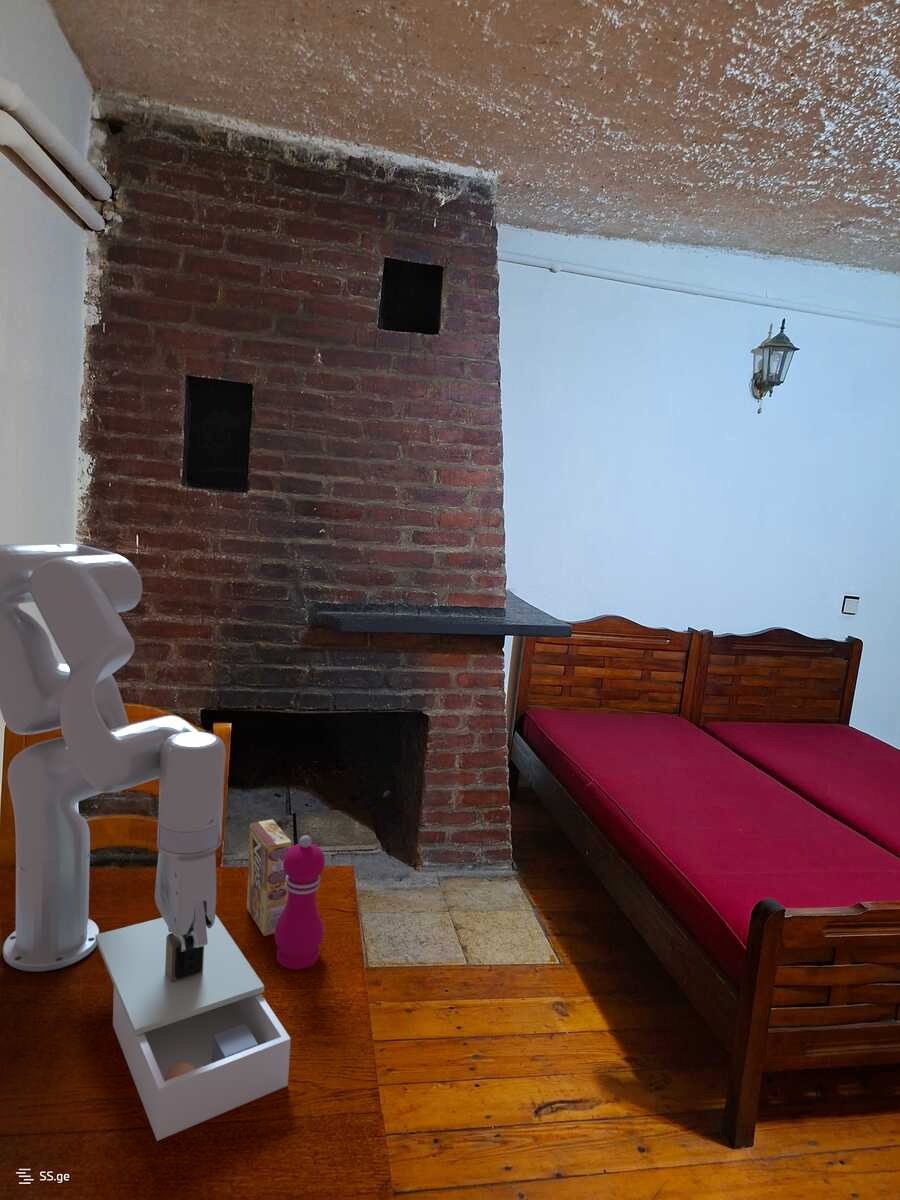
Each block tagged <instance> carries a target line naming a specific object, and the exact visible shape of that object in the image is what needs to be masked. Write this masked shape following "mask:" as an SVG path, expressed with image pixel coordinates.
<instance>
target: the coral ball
mask: <svg viewBox="0 0 900 1200" xmlns="http://www.w3.org/2000/svg"><path fill="white" fill-rule="evenodd" d="M193 1070H196V1068H195V1066H194V1065H193V1064H191V1063H190V1062H186V1061H182V1062H178V1063H176V1064H174V1065H173V1066H172V1067H171V1068H170V1069H169V1070H168V1072H167V1074H166V1077H165V1081H167V1080H169V1079H172V1078H175V1077H177V1076H180V1075H182V1074H185V1073H188V1072H190V1071H193Z"/></svg>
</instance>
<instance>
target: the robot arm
mask: <svg viewBox="0 0 900 1200" xmlns="http://www.w3.org/2000/svg"><path fill="white" fill-rule="evenodd" d="M142 593H143V583H142V579H141V576H140V574H139V572H138V569H137V568H136V566H135V565H134V564H133V563H132V562H131V561H130V560H129V559H127V558H126V557H124V556H122V555H121V554H118V553H115V552H111V551H108V550H103V549H98V548H94V547H92V546H88V545H83V544H79V543H18V544H17V543H15V544H14V543H13V544H12V543H11V544H0V713H1V717H2V719H3V721H4V723H5V725H6V727H7V728H8V729H9V730H10V731H11V733H14V734H17V735H21V736H22V735H23V736H24V735H25V736H27V735H36V734H41V733H44V732H45V733H46V732H51V731H55V730H58V729H61V734H62V736H60V737H55V738H51V739H48V740H44V741H40V742H37V743H34V744H32V745H30V746H28V747H25V748H24V749H22V750H21V751H19V753H17V754H16V755H15V756H13V758H12V760H11V761H10V764H9V766H8V769H7V782H8V783H7V784H8V788H9V792H10V797H11V798H10V799H11V802H12V803H11V804H12V809H13V814H14V825H15V930H14V931H13V932H11V933H10V935H9V936H8V937H7V938H6V940H5V941H4V943H3V946H2V956H3V959H4V961H5V962H6V964H8V965H9V966H10V967H12V968H14V969H17V970H20V971H24V972H47V971H53V970H57V969H61V968H62V969H63V968H65V967H68V966H70V965H73V964H75V963H76V962H79V961H80V960H83V959H84V958H85V957H87V956H89V955H90V953H91V952H93V951H94V950H95V948H97V946H98V945H97V943H96V940H95V935H96V934H100V929H99V925H97V924H96V922H94V920H92V919H90V918H89V911H90V910H89V906H90V905H89V902H90V896H89V895H90V862H91V861H90V859H91V858H90V854H91V853H90V850H91V832H90V827H89V824H88V822H87V821H86V819H85V817H84V816H82V815H81V814H80V813H79V812H78V811H77V810H76V807H75V806H76V804H77V803H78V802H80V801H83V800H86V799H88V798H91V797H94V796H97V795H100V794H103V793H117V792H121V791H124V790H128V789H130V788H134V787H136V786H139V785H142V784H145V783H148V782H150V781H155V780H157V779H159V789H158V790H159V791H158V793H159V794H158V815H157V817H158V819H157V821H158V822H157V840H156V841H157V845H156V846H157V849H158V857H157V864H156V876H155V887H154V888H155V889H154V902H155V905H156V907H157V909H158V911H159V913H160V915H161V918H163V919H164V921H165V922H166V924H167V926H168V930H169V933H171V932H172V933H171V934H168V935H172V934H174V935H175V936H177V937H179V948H176V958H175V977H176V978H177V979H181V978H184V977H187V976H191V975H194V974H197V973H200V972H201V970H202V952H203V946H205V945H207V944H208V940H207V930H206V926H207V927H208V928H211V927H212V926H213V924H214V921H215V914H216V908H217V862H216V858H217V857H216V850H217V849H218V848H220V846H221V845H222V829H223V826H222V825H223V810H224V809H223V808H224V791H225V790H224V787H225V785H224V784H225V770H226V769H225V767H226V766H225V765H226V746H225V742H224V741H223V740H222V739H221V737H220V736H217V735H216V734H213V733H210V732H205V731H201V730H199V729H197V728H196V727H195V726H194V725H193V724H191V723H190V722H189V721H188V720H186V719H184V718H182V717H180V716H177V715H173V714H172V715H169V714H168V715H162V716H158V717H154V718H150V719H147V720H141V721H138V722H134V723H130V722H129V718H128V716H127V712H126V709H125V705H124V702H123V699H122V695H121V692H120V690H119V687H118V683H117V680H115V678H114V675H113V674H114V673H115V672H117V671H118V670H119V669H120V668H122V667H123V666H124V665H125V664H127V662H128V661H129V660H130V659H131V657H132V656H133V654H134V652H135V647H136V646H135V641H134V639H133V638H132V636H131V634H130V632H129V630H128V629H127V627H126V625H125V623H124V622H123V620H122V618H121V616H120V614H119V613H123V612H124V613H125V612H128V611H130V610H133V609H134V608H135V607H136V606H137V605H138V604H139V602H140V601H141V598H142ZM26 603H27V604H28V603H34V604H35V606H36V608H37V609H38V611H39V613H40V615H41V618H42V620H43V621H44V623H45V625H46V628H47V629H48V630H49V631H48V632H50V635H51V637H52V639H53V641H54V643H55V645H57V648H58V650H59V653H60V654H61V655H62V656H61V657H62V658H63V660H64V662H60V661H58V660H57V658H56V656H55V654H54V651H53V647H52V643H51V640H50V637H49V634H48V633H47V632H46V630H45V629H44V627H43V626H42V625H41V624H40V623H39V622H38V621H37V620H36V619H35V618H33V616H31V615H30V614H29V613H28V612H26V611H24V610H23V609H21V608H20V607H19V606H20V604H26ZM192 931H194V935H192V936H188V937H187V938H186V934H187V933H188V932H192Z"/></svg>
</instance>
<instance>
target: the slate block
mask: <svg viewBox="0 0 900 1200" xmlns="http://www.w3.org/2000/svg"><path fill="white" fill-rule="evenodd" d="M256 1046H258V1043H257V1042H256V1040H255V1038H254V1037H253V1035H252V1033H251V1032H250V1030H249V1028H248V1027H247V1025H246V1024H242V1025H239V1026H237V1027H234V1028H231V1029H228V1030H225V1031H223V1032H220V1033H217V1034H214V1035H213V1053H212V1063H214V1062H217V1061H219V1060H222V1059H224V1058H227V1057H230V1056H232V1055H235V1054H238V1053H240V1052H243V1051H245V1050H248V1049H251V1048H253V1047H256Z"/></svg>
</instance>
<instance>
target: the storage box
mask: <svg viewBox="0 0 900 1200" xmlns="http://www.w3.org/2000/svg"><path fill="white" fill-rule="evenodd" d="M112 1002H113V1003H112V1005H113V1007H112V1008H113V1009H112V1012H113V1013H112V1014H113V1015H112V1027H113V1029H114V1032H115V1035H116V1037H117V1041H118V1043H119V1045H120V1048H121V1051H122V1053H123V1055H124V1058H125V1061H126V1063H127V1067H128V1068H129V1071H130V1074H131V1077H132V1079H133V1083H134V1084H135V1088H136V1089H137V1093H138V1095H139V1098H140V1101H141V1102H142V1105H143V1108H144V1111H145V1114H146V1116H147V1119H148V1121H149V1124H150V1127H151V1129H152V1132H153V1134H154V1137H155V1139H156V1142H158V1141H160V1140H163V1139H166V1138H167V1137H171V1136H172V1135H176V1134H178V1133H180V1132H181V1131H185V1130H187V1129H189V1128H192V1127H193V1126H196V1125H199V1124H201V1123H203V1122H205V1121H208V1120H211V1119H213V1118H214V1117H217V1116H219V1115H221V1114H224V1113H227V1112H229V1111H231V1110H234V1109H236V1108H239V1107H241V1106H243V1105H246V1104H248V1103H250V1102H253V1101H255V1100H258V1099H259V1098H262V1097H264V1096H267V1095H269V1094H272V1093H274V1092H276V1091H278V1090H282V1089H284V1088H286V1087H288V1083H289V1073H290V1072H289V1071H290V1068H289V1067H290V1056H291V1041H292V1040H291V1036H289V1034H288V1032H287V1031H286V1029H285V1028H284V1026H283V1025H282V1023H281V1022H280V1020H279V1019H278V1016H276V1014H275V1013H274V1011H273V1010H272V1008H271V1007H270V1005H269V1003H267V1001H266V999H265V998H264V996H263V995H262V993H259V994H256V995H253V996H250V997H247V998H244V999H242V1000H239V1001H236V1002H233V1003H230V1004H227V1005H224V1006H221V1007H218V1008H215V1009H212V1010H209V1011H206V1012H203V1013H200V1014H197V1015H194V1016H191V1017H188V1018H185V1019H183V1020H180V1021H177V1022H174V1023H171V1024H168V1025H165V1026H162V1027H159V1028H156V1029H153V1030H150V1031H147V1032H144V1033H141V1034H138V1035H134V1033H133V1031H132V1028H131V1026H130V1023H129V1021H128V1018H127V1016H126V1013H125V1011H124V1009H123V1006H122V1004H121V1001H120V999H119V996H118V994H117V992H116V989H115V987H114V986H113V1001H112ZM242 1024H246V1025H247V1027H248V1028H249V1030H250V1032H251V1033H252V1035H253V1037H254V1038H255V1040H256V1042H257V1043H258V1046H256V1047H253V1048H251V1049H248V1050H245V1051H243V1052H240V1053H238V1054H235V1055H232V1056H230V1057H227V1058H224V1059H222V1060H219V1061H217V1062H214V1063H212V1053H213V1035H214V1034H217V1033H220V1032H223V1031H225V1030H228V1029H231V1028H234V1027H237V1026H239V1025H242ZM182 1061H186V1062H190V1063H191V1064H193V1065H194V1066H195V1068H196V1070H193V1071H190V1072H188V1073H185V1074H182V1075H180V1076H177V1077H175V1078H172V1079H169V1080H167V1081H165V1077H166V1074H167V1072H168V1070H169V1069H170V1068H171V1067H172V1066H173V1065H174V1064H176V1063H178V1062H182Z"/></svg>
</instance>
